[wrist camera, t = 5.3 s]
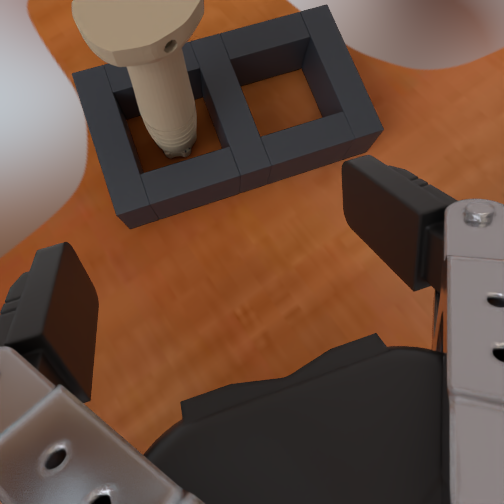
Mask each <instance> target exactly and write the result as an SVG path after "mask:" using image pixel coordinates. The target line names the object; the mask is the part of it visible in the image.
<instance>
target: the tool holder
mask: <svg viewBox="0 0 504 504" xmlns="http://www.w3.org/2000/svg"><path fill="white" fill-rule="evenodd" d="M182 51H183V56H184V60H185V65H186V69H187V73H188V77H189V81H190V85H191V88H192V92H193V96H194V100H195V99H198V98H202V97H203V98H204V101H205V103H206V106H207V109H208V111H209V114H210V117H211V119H212V122H213V125H214V127H215V130H216V133H217V135H218V138H219V141H220V143H221V146H222V149H220V150H217V151H214V152H210V153H207V154H204V155H201V156H197V157H194V158H191V159H188V160H185V161H181V162H178V163H175V164H172V165H168V166H165V167H162V168H159V169H156V170H152V171H149V172H146V173H144V172H143V169H142V166H141V163H140V160H139V157H138V154H137V151H136V148H135V145H134V142H133V139H132V136H131V133H130V130H129V127H128V124H127V121H126V119H129V118H133V117H136V116H140V115H141V114H140V111H139V107H138V104H137V100H136V97H135V93H134V89H133V86H132V82H131V79H130V76H129V73H128V70H127V67H117V66H114V65H111V64H105V65H101V66H98V67H94V68H90V69H87V70H83V71H79V72H76V73H72V76H73V79H74V82H75V85H76V89H77V92H78V95H79V98H80V101H81V105H82V108H83V111H84V114H85V117H86V120H87V124H88V127H89V130H90V133H91V136H92V140H93V143H94V146H95V149H96V152H97V155H98V159H99V162H100V165H101V168H102V171H103V174H104V178H105V181H106V184H107V187H108V190H109V194H110V197H111V200H112V203H113V206H114V209H115V213H116V215H117V216H118V217H119V218H120V219H121V220H122V221H123V222H124V223H125V224H126V225H127V226H128V227H129V228H130V229H132V228H135V227H138V226H141V225H144V224H147V223H151V222H154V221H157V220H159V219H163V218H166V217H169V216H172V215H175V214H178V213H181V212H184V211H187V210H190V209H193V208H196V207H199V206H202V205H205V204H208V203H212V202H215V201H218V200H221V199H224V198H227V197H230V196H233V195H236V194H239V193H242V192H245V191H248V190H251V189H254V188H257V187H261V186H264V185H266V184H270V183H273V182H276V181H279V180H282V179H285V178H288V177H291V176H294V175H297V174H300V173H304V172H307V171H310V170H313V169H316V168H319V167H322V166H325V165H328V164H331V163H334V162H337V161H340V160H343V159H346V158H349V157H353V156H356V155H359V154H362V153H365V152H367V150H368V149H369V148H370V147H371V145H372V144H373V143H374V142H375V140H376V139H377V138H378V136H379V135H380V134H381V133H382V131H383V130H384V128H383V126H382V124H381V122H380V120H379V117H378V115H377V113H376V111H375V109H374V106H373V104H372V102H371V100H370V98H369V95H368V93H367V91H366V89H365V87H364V84H363V82H362V80H361V78H360V76H359V73H358V71H357V69H356V67H355V65H354V62H353V60H352V58H351V56H350V54H349V51H348V49H347V47H346V45H345V43H344V40H343V38H342V36H341V34H340V32H339V30H338V27H337V25H336V23H335V21H334V19H333V16H332V14H331V12H330V10H329V7H328V5H323V6H319V7H316V8H312V9H308V10H305V11H301V12H298V13H294V14H290V15H287V16H283V17H279V18H275V19H272V20H268V21H264V22H261V23H257V24H253V25H250V26H246V27H242V28H239V29H235V30H231V31H228V32H224V33H221V34H216V35H213V36H209V37H205V38H201V39H198V40H194V41H191V42H186V43H185V45H184V46H183V47H182ZM301 68H302V70H303V72H304V75H305V77H306V79H307V82H308V84H309V86H310V89H311V91H312V93H313V96H314V98H315V100H316V103H317V105H318V107H319V110H320V112H321V114H322V117H323V118H320V119H317V120H314V121H310V122H307V123H304V124H301V125H297V126H294V127H291V128H288V129H284V130H281V131H278V132H275V133H272V134H268V135H265V136H262V137H261V138H260V135H259V132H258V130H257V127H256V125H255V122H254V120H253V117H252V115H251V112H250V110H249V107H248V105H247V102H246V100H245V97H244V94H243V92H242V89H241V87H240V86H243V85H246V84H249V83H253V82H256V81H260V80H263V79H267V78H270V77H273V76H277V75H280V74H284V73H287V72H291V71H294V70H298V69H301Z"/></svg>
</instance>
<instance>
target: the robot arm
mask: <svg viewBox="0 0 504 504" xmlns="http://www.w3.org/2000/svg"><path fill="white" fill-rule="evenodd" d="M342 190H343V210H344V215H345V218H346V221H347V223H348V225H349V226H350V228H351V229H352V230H353V231H354V232H355V233H356V234H357V235H358V236H359V237H360V238H361V239H362V240H363V241H364V242H365V243H366V244H367V245H368V246H369V247H370V248H371V249H372V250H373V251H374V252H375V253H376V254H377V255H378V256H379V257H380V258H381V259H382V260H383V261H384V262H385V263H386V264H387V265H388V266H389V267H390V268H391V269H392V270H393V271H394V272H395V273H396V274H397V275H398V276H399V277H400V278H401V279H402V280H403V281H404V282H405V283H406V284H407V285H408V286H409V287H410V288H411V289H412V290H413V291H417V290H420V289H423V288H426V287H429V286H432V287H433V288H434V289H435V292H434V301H433V326H432V350H430V349H424V348H418V347H408V346H391V347H386V345H385V344H384V343H383V341H382V340H381V339H380V337H379V336H378V335H377V333H375V334H372V335H369V336H366V337H364V338H361V339H358V340H355V341H352V342H349V343H347V344H344V345H341V346H338V347H335V348H332V349H330V350H328V351H327V352H325V353H324V354H322V355H321V356H319V357H317V358H316V359H314V360H313V361H311V362H310V363H308V364H307V365H305V366H303V367H302V368H300V369H299V370H297V371H296V372H294V373H293V374H291V375H289V376H287V377H284V378H278V379H270V380H261V381H253V382H245V383H236V384H230V385H227V386H224V387H221V388H218V389H216V390H213V391H210V392H207V393H204V394H201V395H199V396H196V397H193V398H190V399H187V400H184V401H182V402H180V403H181V410H182V417H183V419H182V420H180V421H179V422H177V423H176V424H174V425H173V426H172V427H171V428H169V429H168V430H167V431H166V432H164V433H163V434H162V435H161V436H160V437H159V438H158V439H157V440H156V441H155V442H154V443H153V444H152V445H151V446H150V448H149V449H148V450H147V451H146V452H145V453H144V455H142V454H141V453H140V452H139V451H138V450H137V449H135V448H134V447H133V446H132V445H131V444H130V443H128V442H127V441H126V440H125V439H124V438H123V437H122V436H120V435H119V434H118V433H117V432H116V431H115V430H113V429H112V428H111V427H110V426H109V425H108V424H106V423H105V422H104V421H103V420H102V419H101V418H100V417H98V416H97V415H96V414H95V413H94V412H93V411H91V410H90V409H89V408H88V407H87V406H86V405H85V404H83V403H85V402H88V401H90V400H91V389H92V377H93V366H94V354H95V343H96V331H97V320H98V308H99V302H98V297H97V293H96V290H95V288H94V285H93V284H92V282H91V280H90V278H89V276H88V274H87V273H86V271H85V269H84V267H83V265H82V263H81V262H80V260H79V258H78V256H77V254H76V253H75V251H74V249H73V247H72V246H71V245H70V244H69V243H68V242H64V243H61V244H57V245H54V246H50V247H47V248H43V249H40V250H38V251H37V252H36V255H35V257H34V260H33V263H32V266H31V269H30V271H29V272H26V273H23V274H22V275H21V276H20V277H19V279H18V280H17V281H16V282H15V283H14V284H13V285H12V286H11V287H10V290H9V292H8V295H7V297H6V300H5V303H6V304H4V305H3V307H2V310H1V312H0V313H1V315H0V501H1V503H2V504H504V205H503V204H501V203H498V202H495V201H491V200H485V199H466V200H460V201H457V200H455V199H454V198H452V197H450V196H449V195H447V194H445V193H444V192H442V191H440V190H439V189H437V188H435V187H434V186H432V185H428V183H427V182H425V181H424V180H422V179H418V177H417V176H415V175H414V174H412V173H410V172H409V171H407V170H405V169H401V168H397V167H393V166H387V165H385V164H384V163H382V162H381V161H379V160H377V159H376V158H374V157H373V156H371V155H366V156H362V157H359V158H356V159H352V160H349V161H345V162H344V163H343V165H342Z"/></svg>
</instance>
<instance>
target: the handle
mask: <svg viewBox="0 0 504 504" xmlns="http://www.w3.org/2000/svg"><path fill="white" fill-rule="evenodd" d="M72 14H73V18H74V20H75V23H76V25H77V27H78V29H79V31H80V33H81V35H82V37H83V39H84V40H85V42H86V43H87V44H88V46H89V47H90V49H91V50H92V51H93V52H94V53H95V54H96V55H97V56H98V57H99V58H101V59H102V60H103V61H105V62H107V63H109V64H111V65H114V66H117V67H127V70H128V73H129V76H130V79H131V82H132V86H133V89H134V93H135V97H136V100H137V104H138V107H139V111H140V114H141V116H142V119H143V121H144V124H145V126H146V128H147V130H148V132H149V133H150V135H151V137H152V138H153V140H154V141H155V142H156V144H157V145H158V146H159V148H162V149H163V151H164V154H165V155H166V156H167V157H168V158H173V157H177V156H183V157H187V156H189V155H190V154H191V147H192V145H193V144H194V143H195V142H196V127H197V115H196V107H195V100H194V96H193V92H192V88H191V85H190V81H189V77H188V73H187V69H186V65H185V60H184V56H183V51H182V47H183V46H184V45H185V43H186V42H187V41H188V39H189V38H190V37H191V35H192V34H193V32H194V31H195V29H196V27H197V26H198V24H199V22H200V20H201V18H202V16H203V14H204V0H73V2H72Z"/></svg>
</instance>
